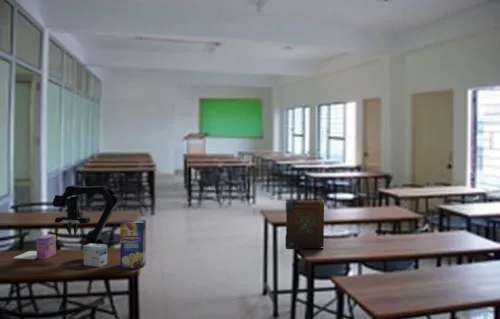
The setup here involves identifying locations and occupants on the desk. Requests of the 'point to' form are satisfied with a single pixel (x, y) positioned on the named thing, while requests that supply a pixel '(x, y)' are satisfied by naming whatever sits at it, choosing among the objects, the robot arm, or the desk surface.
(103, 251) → the light bulb box
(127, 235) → the juice carton
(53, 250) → the box
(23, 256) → the mat
